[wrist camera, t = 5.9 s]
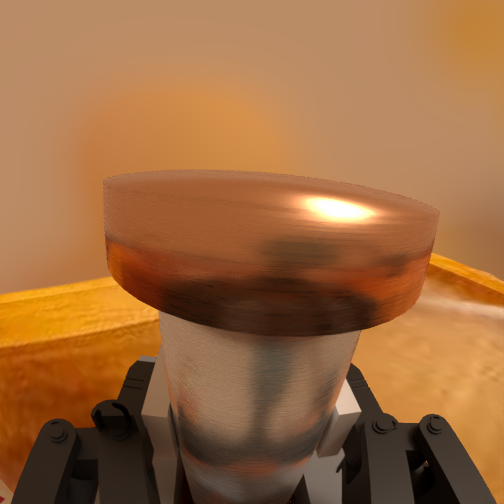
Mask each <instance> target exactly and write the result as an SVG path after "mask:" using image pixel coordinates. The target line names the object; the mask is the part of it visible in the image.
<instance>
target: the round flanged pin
mask: <svg viewBox="0 0 504 504" xmlns="http://www.w3.org/2000/svg"><path fill="white" fill-rule="evenodd" d="M103 208H104V229H105V244H106V255H107V264H108V269H109V271H110V273H111V275H112V277H113V278H114V279H115V281H116V282H117V283H118V284H119V285H120V286H121V287H122V288H123V289H124V290H126V291H127V292H128V293H130V294H131V295H133V296H134V297H135V298H137V299H138V300H140V301H142V302H144V303H146V304H147V305H149V306H151V307H153V308H155V309H157V310H159V321H160V331H161V340H162V349H163V357H164V364H165V371H166V378H167V385H168V391H169V397H170V403H171V408H172V414H173V419H174V424H175V429H176V434H177V439H178V444H179V448H180V452H181V457H182V461H183V465H184V469H185V473H186V477H187V481H188V484H189V488H190V492H191V495H192V499H193V502H194V504H287V503H288V501H289V499H290V497H291V496H292V494H293V492H294V490H295V489H296V487H297V485H298V483H299V481H300V479H301V478H302V476H303V474H304V472H305V470H306V468H307V466H308V464H309V462H310V460H311V458H312V456H313V454H314V452H315V450H316V448H317V446H318V443H319V441H320V439H321V437H322V435H323V432H324V430H325V428H326V426H327V423H328V421H329V419H330V416H331V414H332V411H333V409H334V407H335V404H336V402H337V399H338V397H339V394H340V391H341V389H342V386H343V383H344V381H345V378H346V375H347V372H348V370H349V367H350V364H351V361H352V358H353V355H354V352H355V349H356V346H357V343H358V339H359V336H360V333H361V330H364V329H368V328H371V327H374V326H377V325H380V324H383V323H386V322H389V321H391V320H393V319H394V318H396V317H398V316H400V315H402V314H404V313H405V312H406V311H407V310H409V309H410V308H411V307H412V306H413V305H414V304H415V303H416V301H417V300H418V298H419V296H420V294H421V291H422V287H423V284H424V280H425V277H426V273H427V269H428V265H429V261H430V257H431V253H432V249H433V245H434V240H435V235H436V230H437V225H438V219H439V214H440V212H439V210H437V209H436V208H434V207H432V206H430V205H428V204H426V203H423V202H420V201H418V200H415V199H411V198H408V197H405V196H401V195H397V194H394V193H390V192H386V191H382V190H378V189H373V188H369V187H364V186H359V185H353V184H348V183H343V182H337V181H331V180H325V179H318V178H310V177H303V176H294V175H285V174H275V173H262V172H250V171H230V170H163V171H148V172H138V173H130V174H122V175H117V176H113V177H109V178H107V179H105V180H104V181H103Z"/></svg>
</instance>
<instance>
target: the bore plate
mask: <svg viewBox="0 0 504 504" xmlns="http://www.w3.org/2000/svg"><path fill="white" fill-rule="evenodd" d="M156 360H157V357H149V356H140V359H139V361H147V362H156ZM344 456H345V454H344V451H343V448H341V450H340V452H339V453H338V455H334V456H329V457H322V458H318V456H317V452H316V450H315V452H314V454H313V456H312V458H311V460H310V462H309V464H308V466H307V468H306V470H305V472H304V474H303V476H302V478H301V479H300V481H299V483H298V485H297V487H296V489H295V490H294V492H293V495H294V500H295V504H342V468H341V470H340V471H339V473H336V469H337V467H338V465H339V464H340V462H341V461H342V459H343V458H344ZM152 464H153V467H154V470H155V476H156V482H157V487H158V492H159V497H160V502H161V504H182V492H183V478H184V465H183V461H182V457H181V452H180V448H179V450H178V459H177V461H174V460H165V459H158V458H156V457H155V454H153V460H152ZM94 504H100V499H99V487H98V491H97V495H96V499H95V503H94Z"/></svg>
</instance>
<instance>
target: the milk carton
mask: <svg viewBox="0 0 504 504" xmlns="http://www.w3.org/2000/svg"><path fill="white" fill-rule="evenodd" d="M13 495H14V494H13V493H12V491H11V490H10V489H9V488H8V487H7V486H6V485H5V484H4V482H3V481H2V480H1V479H0V504H11V501H12V498H13Z"/></svg>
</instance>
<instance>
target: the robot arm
mask: <svg viewBox="0 0 504 504" xmlns="http://www.w3.org/2000/svg"><path fill="white" fill-rule="evenodd" d="M91 417H92V419H93V421H94V423H95V425H96V427H93V428H74V426H73V425H72V424H71V423H70V422H68V421H66V420H64V419H58V418H57V419H53V420H50V421H48V422H47V423H45V424H44V426H43V427H42V428H41V431H40V433H39V435H38V437H37V439H36V441H35V443H34V446H33V448H32V450H31V452H30V455H29V457H28V459H27V462H26V464H25V467H24V469H23V471H22V474H21V476H20V479H19V482H18V484H17V487H16V490H15V492H14V495H13V498H12V501H11V504H94V503H95V498H96V494H97V490H98V486H99V499H100V504H161V502H160V497H159V492H158V487H157V482H156V476H155V470H154V467H153V464H152V460H153V454H155V457H156V458H158V459H165V460H174V461H177V459H178V450H179V444H178V439H177V434H176V429H175V424H174V419H173V414H172V408H171V403H170V397H169V391H168V385H167V378H166V371H165V364H164V357H163V349H162V343H161V346H160V350H159V353H158V356H157V360H156V362H147V361H139V360H137V361H136V362H135V363H134V364H133V365H132V366H131V367H130V368H129V370H128V373H127V375H126V379H125V380H124V383H123V387H122V388H121V391H120V394H119V396H118V399H117V400H113V399H112V400H105V401H103V402H101V403H99V404H97V405H96V406H95V407H94V408H93V410H92V413H91ZM341 448H343V451H344V454H345V456H344V458H343V459H342V461H341V462H340V464H339V465H338V467H337V469H336V473H339V471H340V470H341V468H342V504H497V503H496V501H495V499H494V498H493V496H492V494H491V492H490V490H489V488H488V487H487V485H486V483H485V481H484V480H483V478H482V476H481V475H480V473H479V471H478V469H477V468H476V466H475V464H474V463H473V461H472V459H471V458H470V456H469V455H468V453H467V451H466V450H465V448H464V447H463V445H462V443H461V442H460V440H459V439H458V437H457V436H456V434H455V432H454V431H453V429H452V428H451V426H450V425H449V423H448V422H447V421H446V420H445V419H444V418H443V417H441V416H439V415H436V414H429V415H426V416H424V417H423V418H422V419H421V421H420V422H419V423H399V422H398V421H397V420H396V419H395V418H394V417H393V416H391V415H389V414H387V413H383V412H382V410H381V408H380V406H379V404H378V402H377V401H376V399H375V397H374V395H373V393H372V391H371V390H370V388H369V387H368V384H367V382H366V380H364V377H363V375H362V373H361V371H360V370H359V369H358V368H357V367H356V366H355V365H353V364H352V363H351V364H350V367H349V370H348V372H347V375H346V378H345V381H344V383H343V386H342V389H341V391H340V394H339V397H338V399H337V402H336V404H335V407H334V409H333V411H332V414H331V416H330V419H329V421H328V423H327V426H326V428H325V430H324V432H323V435H322V437H321V439H320V441H319V443H318V446H317V448H316V452H317V456H318V458H322V457H329V456H334V455H338V453H339V452H340V450H341ZM426 461H427V462H426ZM427 463H428V464H427Z"/></svg>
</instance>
